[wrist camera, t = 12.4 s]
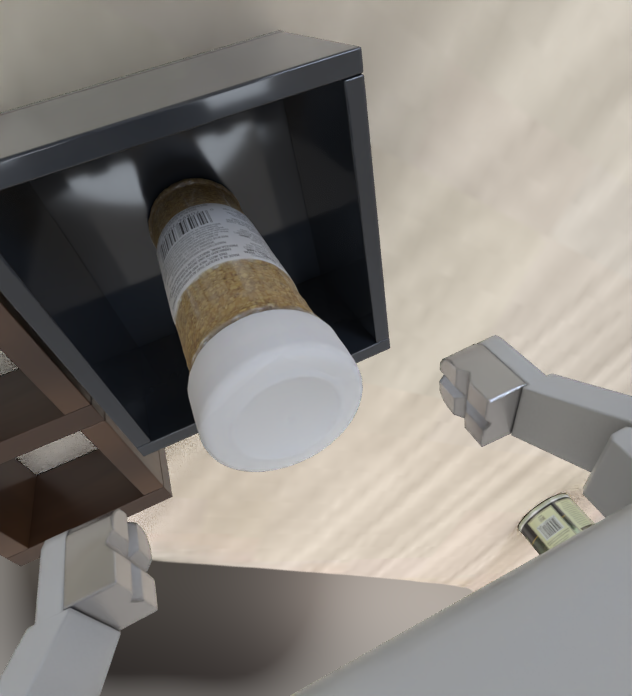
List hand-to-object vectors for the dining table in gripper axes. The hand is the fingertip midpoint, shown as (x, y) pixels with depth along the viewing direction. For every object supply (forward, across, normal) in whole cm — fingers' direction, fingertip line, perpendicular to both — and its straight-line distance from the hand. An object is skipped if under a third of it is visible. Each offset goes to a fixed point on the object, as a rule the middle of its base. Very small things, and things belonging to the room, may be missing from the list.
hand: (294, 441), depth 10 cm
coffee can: (+14, -36, +69) cm, 79 cm away
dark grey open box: (+15, 0, 0) cm, 15 cm away
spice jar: (+14, 0, 0) cm, 15 cm away
